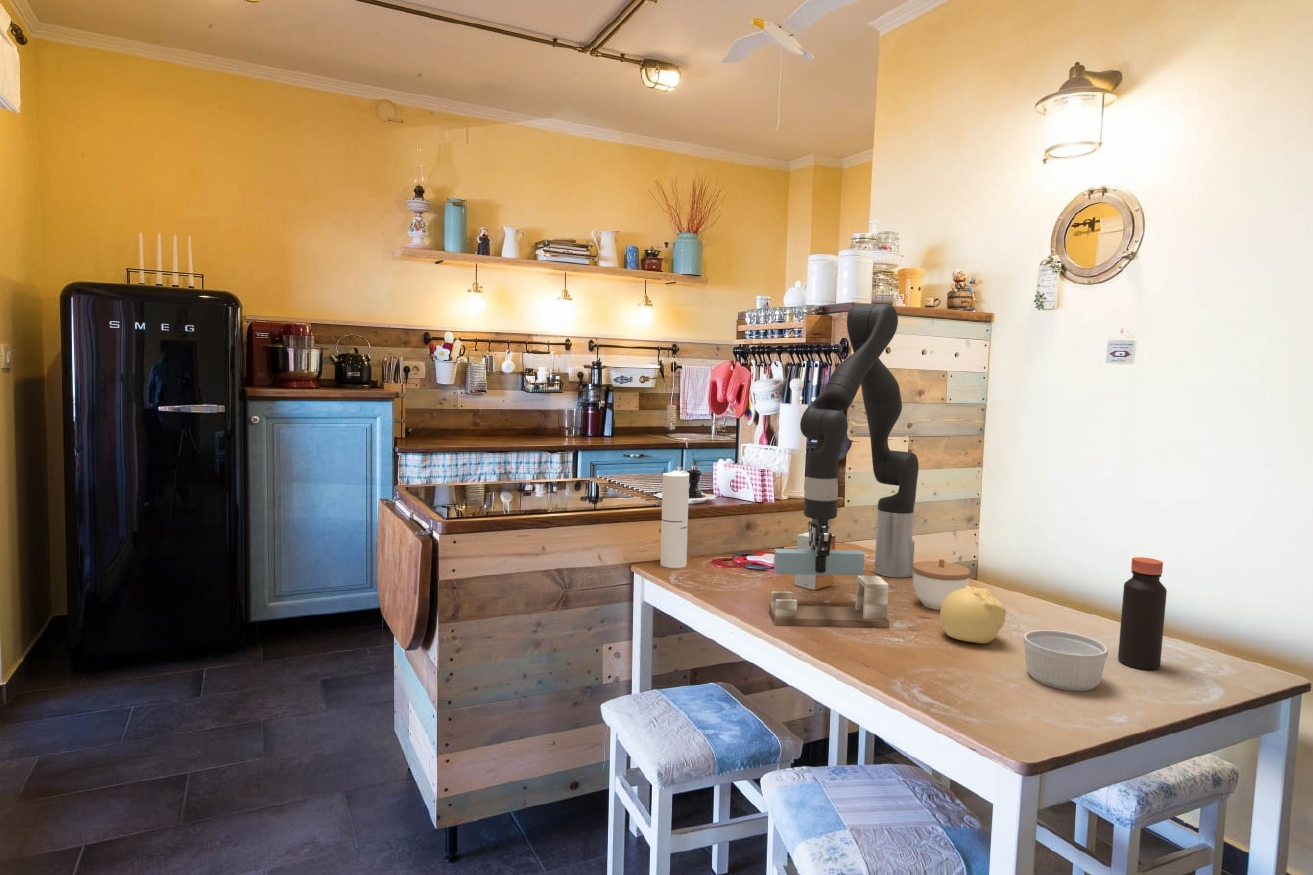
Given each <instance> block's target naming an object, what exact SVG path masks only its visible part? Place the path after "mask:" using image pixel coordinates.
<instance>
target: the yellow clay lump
mask: <svg viewBox="0 0 1313 875" xmlns="http://www.w3.org/2000/svg"><path fill="white" fill-rule="evenodd" d="M1006 615H1007V611H1006V608H1005V605H1004V604H1003V603H1001V602H1000V600H999V599H998V598H997V597H996V596H994V594H992V593H991V592H990V591H989V589H987V588H983V587H975V586H970V585H969V586H967V585H966V586H965V588H963V589H958V590H955V591H953V592H951V593H950V594H949V595H948V596H947V597H946V598H945V599H944V601H943V603H942V605H941V609H940V610H939V617H940V618H939V619H940V624H941V626H942V628H943V631H944V632H945V634H946V635H947V636H948V637H951V638H952V639H955V640H958V641H962V642H963V641H964V642H969V643H976V644H989V643H990V642H992V641H993V640H994V639H995V638H997V635H998V634H999V632H1000V630H1001V629H1002V628H1003V626H1004V623H1005V621H1006V620H1005V618H1006Z"/></svg>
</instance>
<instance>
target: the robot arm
mask: <svg viewBox="0 0 1313 875" xmlns="http://www.w3.org/2000/svg"><path fill="white" fill-rule="evenodd" d="M898 325H899V317H898V311H897V309H896V308H895V306H894V305H891V304H887V303H861V304H860V303H859V304H854V305H852V306H851V307H850V308H849V310H848V312H847V316H846V328H847V329H846V330H847V333H848V334H847V335H848V339H849V342H850V347H851V349H852V352H853V353H851V355H849V356H847V358H845V359H844V360H843V361H842V362H841V363H839V364H838V366H837V367H836V368H835V369H834V370H833V372H832V374H831V375H830V377H829V379H828V381H827V383H826V385H825V387H824V389H823V391H822V392H821V393H820V394H818V396H817V397H816V398H815V399H814V400H813V401H812V402H811V403H810V404H809V406H808V407H807V408H806V409H805V410H804V412H803V413H802V416H801V419H800V423H799V426H800V431H801V434H802V436H803V437H805V438H806V439H810V440H815V441H816V440H817V441H818V440H819V441H825V442H824V444H823V446H822V448H821V449H817V450H811V451H809V452H808V454H807V456H806V470H805V471H806V473H805V475H806V476H805V482H804V493H803V494H804V497H803V498H804V499H803V516H804V517H806V518H808V519H811V521H808V523H807V524H808V532H809V546H810V547H811V548H810V549H811V550H816V553H815V555H816V564H815V571H816V572H817V573H824V572H825V571H826V557H827V556H829V554H830V546H831V539H832V534H833V533H832V532H831V527H830V525H829V520H834V519H836V518H837V517H838V507H839V506H838V499H839V483H838V482H839V481H838V480H839V479H838V473H839V472H838V471H839V459H840V456H841V452H842V448H843V445H844V443H845V439H846V437H847V433H848V429H849V428H848V427H849V424H848V419H847V416H846V415H845V413H843V412H842V411H846V410H847V409H849V408H850V407H851V405H852V403H853V401H854V399H855V398H856V395H857V393H858V391H859V389H860V388H861V394H862V400H863V406H864V412H865V414H866V420H867V421H866V422H867V425H868V432H869V436H870V446H871V447H870V449H871V461H872V471H873V476H874V478H875V479H876V481H877V483H880V484H883V485H888V486H890V485H891V486H896V487H898V490H897V492H896V493H895V494H893V495H889V496H888V495H887V496H885V497H884V496H883V497H881V498H879V500H878V502H877V516H876V519H877V520H876V537H875V552H874V554H875V555H874V573H876V574H877V575H878V576H884V577H887V578H888V577H889V578H907V577H913V564H914V558H915V540H913V532H914V531H913V530H914V529H913V528H914V510H915V504H916V496H917V488H918V485H917V484H918V476H919V468H920V467H919V464H920V463H919V459H918V456H917V455H916V454H915V453H914V452H909V451H901V450H900V451H899V450H891V449H890V448H889V436H890V433H891V432H892V430H893V429H894V427H895V424H896V423H897V421H898V420H899V418H900V415H901V413H902V410H903V404H902V403H903V402H902V396H901V388H900V385H899V382H898V380H897V379H896V377H895V376H894V375H893V373H892V372H891V371H890V370H889V369H888V368H887V366H886V365H885V364H884V363H883V362H882V360H881V359H880V357H881V355H882V354H883V352H884V351H885V350H886V348H887V347H888V346H889V344H890V343H891V341H892V340H893V338H894V336H895V334H896V333H897V329H898ZM822 548H824V551H822Z"/></svg>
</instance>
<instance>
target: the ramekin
mask: <svg viewBox="0 0 1313 875" xmlns="http://www.w3.org/2000/svg"><path fill="white" fill-rule="evenodd" d="M1022 641H1023V645H1024V652H1025V653H1024V654H1025V664H1026V665H1025V666H1026V670H1027V672H1028V674H1029V675H1030V676H1031V677H1032V678H1033V680H1035V681H1037V682H1039V683H1041V684H1043V685H1046V686H1049V687H1052V688H1056V689H1059V690H1060V689H1061V690H1064V691H1074V692H1086V691H1091V690H1093V689H1095V688H1096V687H1098V686H1099V685H1100V683H1101V681H1102V678H1103V672H1104V667H1105V662H1106V660H1107V658H1108V653H1109V652H1108V647H1107V646H1106V645H1105V644H1104V643H1103V642H1102V641H1099V640H1097V639H1095V638H1092V637H1089V636H1087V635H1083V634H1079V633H1074V632H1069V631H1063V630H1056V629H1036V630H1035V629H1034V630H1030V631H1028V632H1026V633H1024V635H1023V640H1022Z"/></svg>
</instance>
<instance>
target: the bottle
mask: <svg viewBox="0 0 1313 875" xmlns="http://www.w3.org/2000/svg"><path fill="white" fill-rule="evenodd" d="M1163 566H1164V562H1163V561H1161V560H1159V559H1155V558H1150V557H1144V556H1143V557H1139V556H1138V557H1136V556H1135V557H1132V558H1131V568H1130V570H1131V571H1130V573H1132V577H1131V578H1129V579H1128V580H1127V581H1125V582H1124V584H1123V591H1122V592H1123V593H1122V602H1121V603H1122V605H1121V616H1120V617H1121V618H1120V630H1119V639H1118V640H1119V642H1118V653H1117V658H1118V659H1117V660H1118V661H1119V662H1120V663H1121V664H1123V665H1125V666H1128V667H1130V668H1134V669H1138V670H1145V671H1155V670H1158V669H1159V668H1161V661H1162V650H1163V649H1162V648H1163V639H1164V638H1163V637H1164V627H1165V615H1166V604H1167V603H1166V602H1167V593H1168V592H1167V588H1166V586H1164V584H1163V583H1162V582H1161V581H1160V578H1161V577H1162V575H1163Z"/></svg>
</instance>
